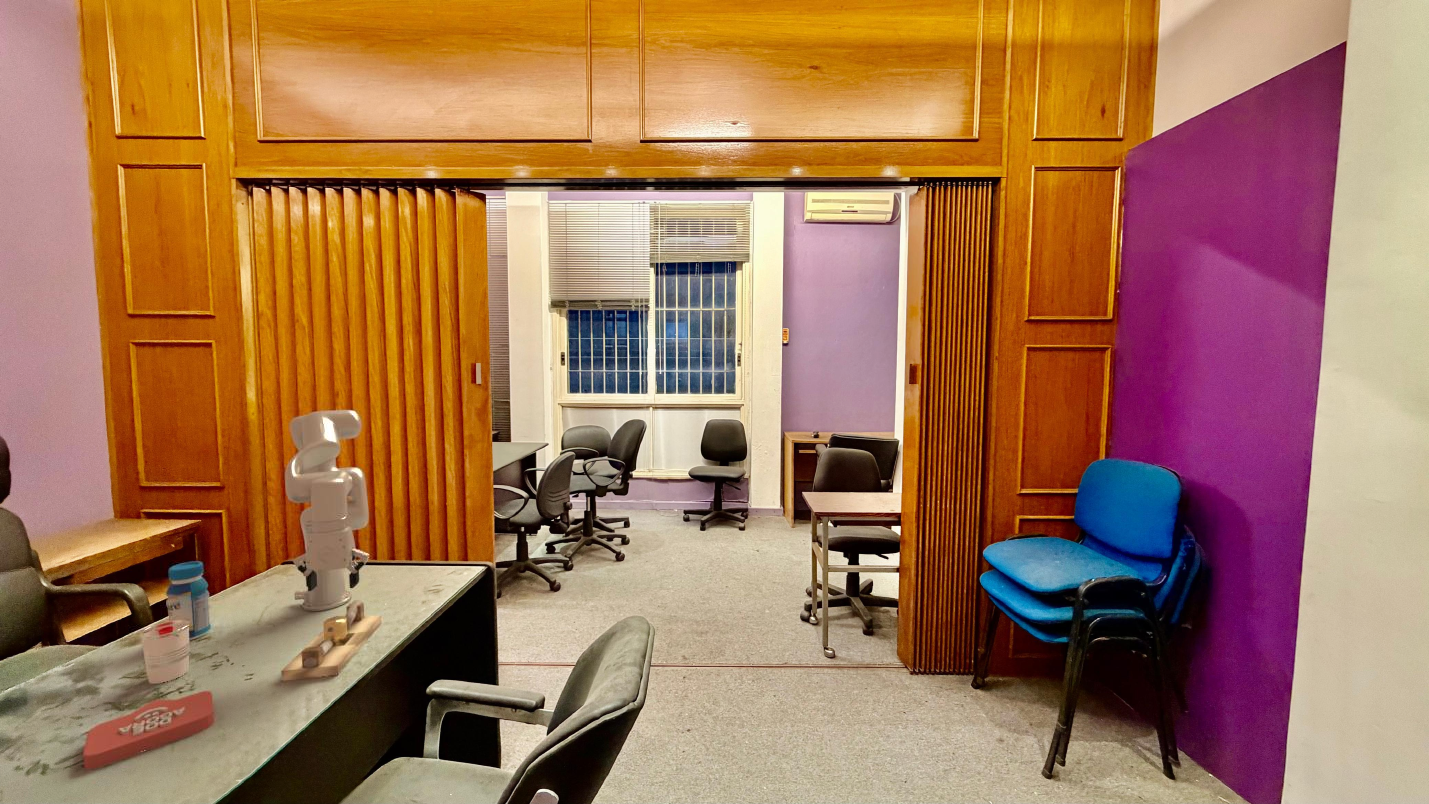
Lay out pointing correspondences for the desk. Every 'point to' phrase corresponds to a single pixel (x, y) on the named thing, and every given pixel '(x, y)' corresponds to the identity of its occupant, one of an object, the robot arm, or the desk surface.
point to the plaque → (148, 728)
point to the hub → (336, 630)
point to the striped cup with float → (166, 650)
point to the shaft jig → (329, 659)
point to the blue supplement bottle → (189, 597)
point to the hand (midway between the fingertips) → (333, 587)
